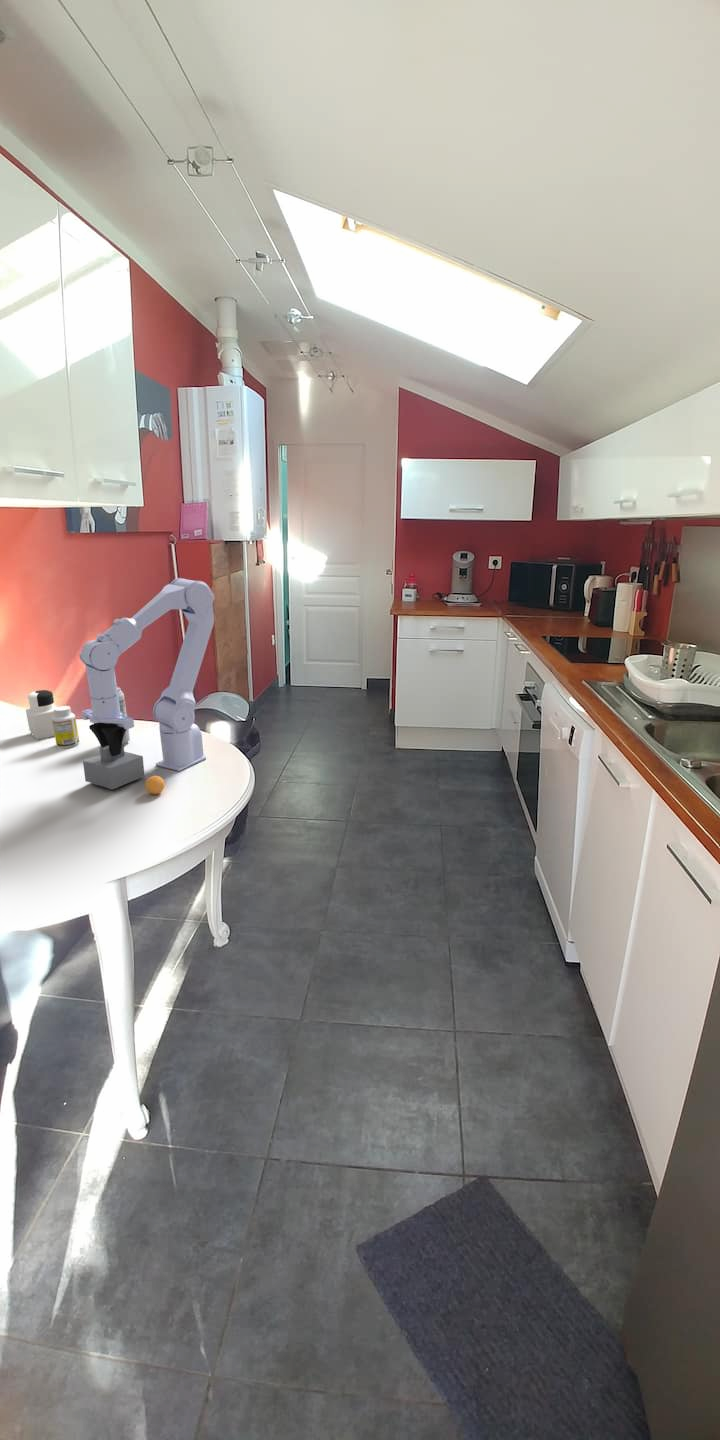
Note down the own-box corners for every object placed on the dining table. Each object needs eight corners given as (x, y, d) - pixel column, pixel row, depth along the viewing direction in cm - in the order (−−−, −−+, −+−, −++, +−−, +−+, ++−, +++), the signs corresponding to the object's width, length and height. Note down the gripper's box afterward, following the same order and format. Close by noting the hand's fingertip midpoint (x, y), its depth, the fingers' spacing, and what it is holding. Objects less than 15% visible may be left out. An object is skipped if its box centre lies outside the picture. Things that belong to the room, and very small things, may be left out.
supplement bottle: (68, 740, 180) (62, 703, 177) (84, 743, 178) (78, 706, 174) (51, 747, 175) (45, 709, 172) (67, 750, 173) (61, 712, 170)
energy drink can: (111, 740, 180) (103, 685, 175) (133, 739, 180) (126, 685, 175) (102, 748, 174) (94, 692, 169) (125, 747, 174) (118, 692, 169)
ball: (162, 793, 149) (152, 778, 149) (171, 784, 147) (160, 769, 147) (148, 800, 146) (138, 785, 146) (157, 791, 143) (146, 776, 144)
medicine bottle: (56, 727, 190) (49, 686, 186) (64, 734, 185) (57, 692, 181) (29, 733, 186) (22, 691, 182) (37, 740, 181) (29, 697, 177)
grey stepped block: (117, 768, 159) (114, 737, 156) (144, 776, 154) (141, 743, 152) (85, 781, 151) (81, 748, 149) (112, 789, 147) (108, 755, 145)
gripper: (66, 695, 147) (76, 753, 151) (111, 705, 140) (120, 765, 144) (93, 688, 153) (102, 744, 157) (138, 696, 146) (145, 755, 150)
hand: (112, 753), depth 151 cm, fingers closed on grey stepped block
